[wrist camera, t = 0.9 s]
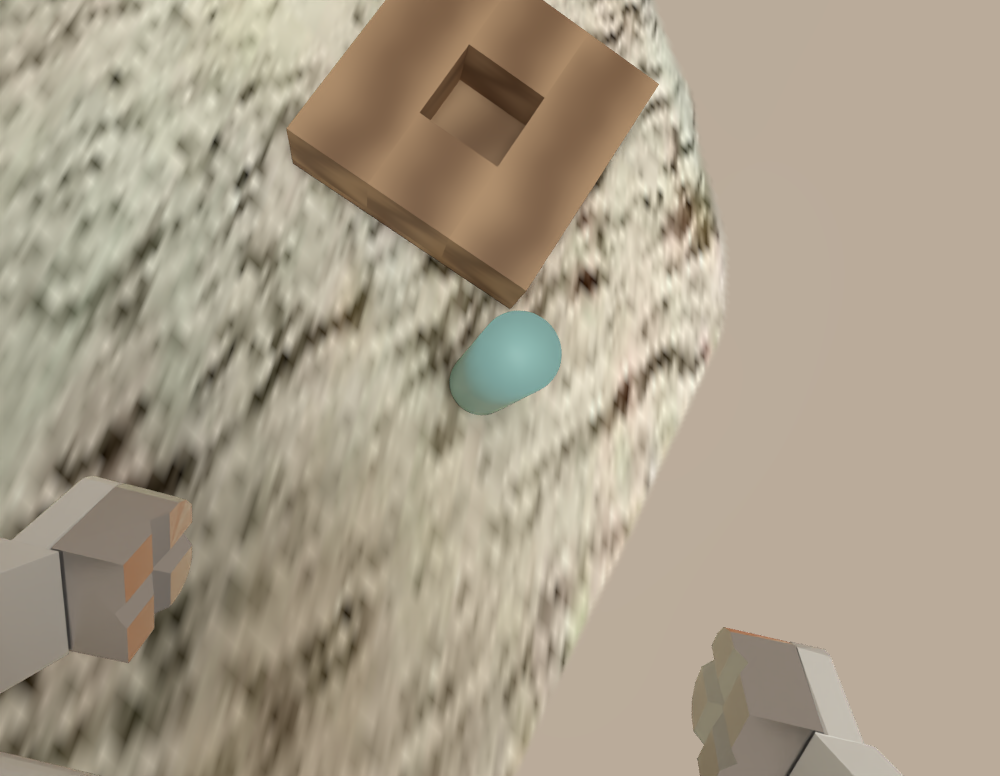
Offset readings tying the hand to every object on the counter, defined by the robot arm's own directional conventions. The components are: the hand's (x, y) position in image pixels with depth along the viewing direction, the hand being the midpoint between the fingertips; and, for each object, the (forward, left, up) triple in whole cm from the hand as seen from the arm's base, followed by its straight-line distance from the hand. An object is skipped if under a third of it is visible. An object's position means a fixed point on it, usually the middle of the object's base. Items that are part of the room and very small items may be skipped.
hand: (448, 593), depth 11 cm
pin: (+1, +10, -33) cm, 34 cm away
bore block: (-8, +23, -33) cm, 41 cm away
